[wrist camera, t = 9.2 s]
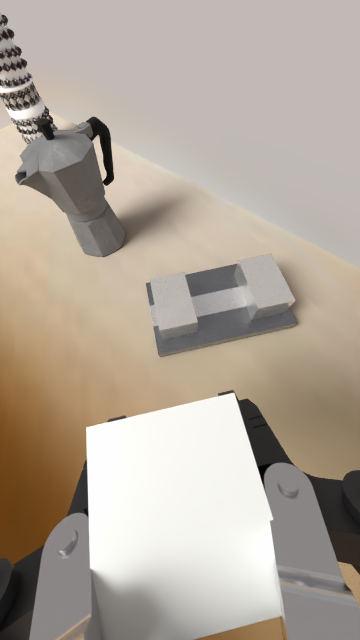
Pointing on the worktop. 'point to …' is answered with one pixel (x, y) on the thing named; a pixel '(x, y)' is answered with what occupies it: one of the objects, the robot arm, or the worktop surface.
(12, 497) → the worktop surface
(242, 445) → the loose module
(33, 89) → the black and white cylinder
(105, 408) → the worktop surface
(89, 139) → the coffeepot
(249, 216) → the worktop surface
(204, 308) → the rail panel
